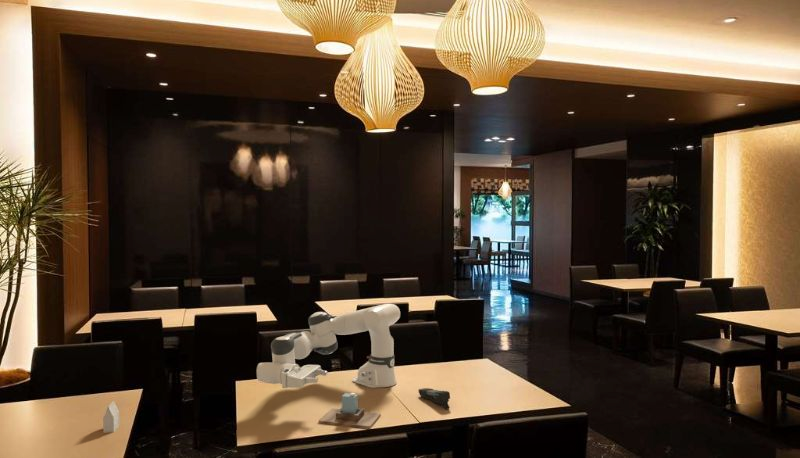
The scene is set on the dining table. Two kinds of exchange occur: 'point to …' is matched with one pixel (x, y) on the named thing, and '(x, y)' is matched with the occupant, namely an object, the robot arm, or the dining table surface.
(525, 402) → the dining table surface
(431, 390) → the gun
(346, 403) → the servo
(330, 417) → the walnut board
